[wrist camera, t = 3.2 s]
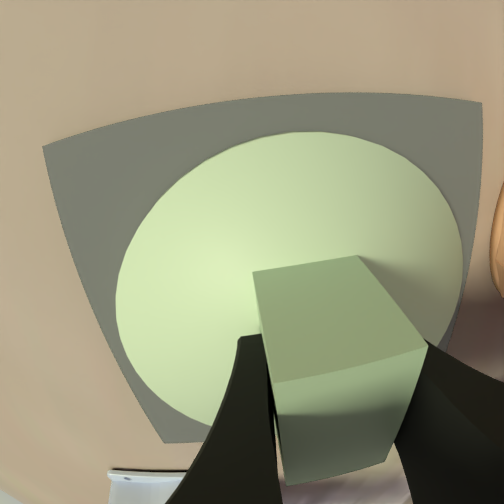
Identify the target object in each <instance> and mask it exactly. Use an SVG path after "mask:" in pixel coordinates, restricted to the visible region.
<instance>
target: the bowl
mask: <svg viewBox="0 0 504 504" xmlns="http://www.w3.org/2000/svg"><path fill="white" fill-rule="evenodd" d="M490 269H491V275H492V279H493V282H494V284H495V287H496V288H497V290H498V291H499V292H500V293H501V296H502V297H503V298H504V183H503V186H502V189H501V192H500V196H499V199H498V203H497V207H496V211H495V215H494V220H493V225H492V232H491V240H490Z"/></svg>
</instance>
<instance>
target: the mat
mask: <svg viewBox="0 0 504 504" xmlns="http://www.w3.org/2000/svg"><path fill="white" fill-rule="evenodd" d="M289 131H323V132H330V133H337V134H344V135H349V136H353V137H357V138H360V139H363V140H366V141H369V142H372V143H375V144H378V145H381V146H384V147H386V148H387V149H389V150H391V151H393V152H395V153H397V154H399V155H401V156H403V157H404V158H406V159H407V160H408V161H410V162H411V163H412V164H414V165H415V166H416V167H418V168H419V169H420V170H421V171H423V172H424V173H425V174H426V176H427V177H428V178H429V179H430V180H431V181H432V182H433V183H434V184H435V185H436V187H437V188H438V189H439V191H440V192H441V194H442V195H443V197H444V198H445V200H446V201H447V203H448V205H449V207H450V209H451V211H452V214H453V216H454V218H455V221H456V223H457V227H458V231H459V235H460V239H461V244H462V254H463V274H462V283H461V289H460V294H459V298H458V302H457V305H456V308H455V311H454V314H453V317H452V319H451V321H450V323H449V326H448V328H447V330H446V332H445V334H444V335H443V337H442V339H441V341H440V342H439V344H438V346H437V347H438V348H439V349H441V350H442V351H444V352H445V353H446V350H447V347H448V344H449V341H450V338H451V335H452V332H453V328H454V325H455V321H456V318H457V314H458V311H459V307H460V303H461V299H462V295H463V291H464V287H465V283H466V278H467V274H468V269H469V264H470V259H471V254H472V248H473V243H474V236H475V230H476V223H477V215H478V207H479V197H480V186H481V172H482V149H483V118H482V103H480V102H474V101H467V100H460V99H452V98H443V97H434V96H423V95H410V94H392V93H311V94H293V95H280V96H268V97H258V98H248V99H240V100H232V101H225V102H218V103H211V104H205V105H199V106H193V107H187V108H182V109H177V110H171V111H166V112H162V113H157V114H152V115H148V116H144V117H139V118H135V119H131V120H127V121H123V122H119V123H115V124H112V125H108V126H104V127H101V128H97V129H94V130H90V131H87V132H84V133H81V134H77V135H74V136H71V137H68V138H65V139H62V140H59V141H56V142H53V143H50V144H48V145H45V146H42V147H43V152H44V157H45V162H46V166H47V171H48V175H49V179H50V184H51V188H52V192H53V195H54V199H55V203H56V206H57V210H58V214H59V217H60V220H61V224H62V227H63V230H64V233H65V237H66V240H67V243H68V246H69V249H70V252H71V255H72V258H73V260H74V263H75V266H76V269H77V271H78V274H79V277H80V279H81V282H82V285H83V287H84V290H85V292H86V295H87V297H88V300H89V302H90V305H91V307H92V309H93V312H94V314H95V316H96V319H97V321H98V323H99V325H100V328H101V330H102V332H103V334H104V336H105V338H106V341H107V343H108V345H109V347H110V349H111V351H112V353H113V355H114V357H115V359H116V361H117V363H118V365H119V367H120V369H121V371H122V373H123V375H124V377H125V378H126V380H127V382H128V384H129V386H130V388H131V389H132V391H133V393H134V395H135V397H136V398H137V400H138V402H139V404H140V405H141V407H142V409H143V410H144V412H145V414H146V415H147V417H148V419H149V420H150V422H151V424H152V425H153V427H154V428H155V430H156V432H157V433H158V435H159V436H160V438H161V439H162V441H163V442H164V443H193V442H204V441H205V439H206V437H207V435H208V433H209V431H210V429H211V427H212V426H209V425H206V424H204V423H201V422H199V421H197V420H194V419H192V418H190V417H188V416H186V415H184V414H183V413H181V412H179V411H177V410H176V409H174V408H173V407H171V406H170V405H168V404H167V403H166V402H164V401H163V400H162V399H160V398H159V397H158V396H157V395H156V394H155V393H154V392H153V391H152V390H151V389H150V388H149V387H148V386H147V385H146V384H145V382H144V381H143V380H142V379H141V377H140V376H139V375H138V374H137V372H136V371H135V369H134V367H133V366H132V364H131V362H130V360H129V358H128V357H127V355H126V352H125V349H124V347H123V344H122V342H121V339H120V335H119V330H118V325H117V320H116V290H117V283H118V276H119V272H120V269H121V266H122V262H123V259H124V256H125V253H126V251H127V249H128V247H129V245H130V243H131V241H132V239H133V237H134V235H135V233H136V231H137V229H138V227H139V226H140V224H141V223H142V221H143V220H144V218H145V217H146V215H147V214H148V213H149V211H150V210H151V209H152V207H153V206H154V205H155V203H156V202H157V201H158V199H159V198H160V197H161V196H162V195H163V194H164V193H165V192H166V191H167V190H168V189H169V188H170V187H171V186H172V185H173V184H174V183H175V182H176V181H177V180H178V179H179V178H180V177H181V176H183V175H184V174H186V173H187V172H188V171H190V170H191V169H192V168H194V167H195V166H197V165H198V164H199V163H201V162H202V161H204V160H205V159H207V158H209V157H211V156H213V155H215V154H217V153H219V152H221V151H223V150H225V149H227V148H229V147H231V146H233V145H236V144H239V143H242V142H245V141H248V140H251V139H254V138H257V137H260V136H266V135H271V134H277V133H283V132H289Z"/></svg>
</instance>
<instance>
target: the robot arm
mask: <svg viewBox="0 0 504 504" xmlns="http://www.w3.org/2000/svg"><path fill="white" fill-rule="evenodd" d="M422 338H423V337H422ZM423 339H424V338H423ZM424 340H425V339H424ZM425 342H426V343H427V344H428V349H427V352H426V356H425V359H424V362H423V366H422V369H421V372H420V375H419V378H418V381H417V384H416V387H415V390H414V392H413V395H412V398H411V401H410V403H409V406H408V409H407V411H406V414H405V416H404V419H403V421H402V424H401V426H400V428H399V431H398V433H397V436H396V438H395V440H394V444H395V446H396V449H397V451H398V453H399V456H400V459H401V462H402V465H403V469H404V472H405V475H406V478H407V482H408V485H409V489H410V493H411V497H412V501H413V504H504V383H503V382H500V381H498V380H496V379H493V378H491V377H489V376H487V375H485V374H483V373H481V372H479V371H477V370H475V369H473V368H471V367H469V366H467V365H466V364H464V363H462V362H460V361H459V360H457V359H455V358H454V357H452V356H450V355H449V354H447V353H445V352H444V351H442V350H441V349H439V348H438V347H436V346H434V345H433V344H431V343H430V342H428V341H427V340H425ZM107 476H108V477H109V478H110V479H111V480H112V483H111V489H110V495H109V502H108V504H283V503H282V497H281V491H280V485H279V479H278V470H277V454H276V439H275V424H274V411H273V404H272V396H271V389H270V381H269V374H268V367H267V359H266V353H265V348H264V343H263V338H262V333H261V334H254V335H247V336H241V337H240V338H239V339H238V340H237V350H236V356H235V360H234V365H233V368H232V372H231V376H230V379H229V382H228V385H227V388H226V392H225V395H224V397H223V400H222V403H221V405H220V408H219V410H218V412H217V415H216V417H215V420H214V422H213V425H212V427H211V429H210V431H209V433H208V435H207V437H206V439H205V441H204V443H203V445H202V447H201V449H200V451H199V453H198V454H197V456H196V458H195V460H194V461H193V463H192V465H191V466H190V468H189V470H188V471H187V472H173V473H169V472H134V471H120V470H108V472H107Z"/></svg>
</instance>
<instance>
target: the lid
mask: <svg viewBox="0 0 504 504" xmlns="http://www.w3.org/2000/svg"><path fill="white" fill-rule="evenodd" d="M462 274H463V254H462V244H461V239H460V235H459V231H458V227H457V223H456V221H455V218H454V216H453V214H452V211H451V209H450V207H449V205H448V203H447V201H446V200H445V198H444V197H443V195H442V194H441V192H440V191H439V189H438V188H437V187H436V185H435V184H434V183H433V182H432V181H431V180H430V179H429V178H428V177H427V176H426V174H425V173H424V172H423V171H421V170H420V169H419V168H418V167H416V166H415V165H414V164H412V163H411V162H410V161H408V160H407V159H406V158H404V157H403V156H401V155H399V154H397V153H395V152H393V151H391V150H389V149H387V148H386V147H384V146H381V145H378V144H375V143H372V142H369V141H366V140H363V139H360V138H357V137H353V136H349V135H344V134H337V133H330V132H323V131H289V132H283V133H277V134H271V135H266V136H260V137H257V138H254V139H251V140H248V141H245V142H242V143H239V144H236V145H233V146H231V147H229V148H227V149H225V150H223V151H221V152H219V153H217V154H215V155H213V156H211V157H209V158H207V159H205V160H204V161H202V162H201V163H199V164H198V165H197V166H195V167H194V168H192V169H191V170H190V171H188V172H187V173H186V174H184V175H183V176H181V177H180V178H179V179H178V180H177V181H176V182H175V183H174V184H173V185H172V186H171V187H170V188H169V189H168V190H167V191H166V192H165V193H164V194H163V195H162V196H161V197H160V198H159V199H158V201H157V202H156V203H155V205H154V206H153V207H152V209H151V210H150V211H149V213H148V214H147V215H146V217H145V218H144V220H143V221H142V223H141V224H140V226H139V227H138V229H137V231H136V233H135V235H134V237H133V239H132V241H131V243H130V245H129V247H128V249H127V251H126V253H125V256H124V259H123V262H122V266H121V269H120V272H119V276H118V283H117V290H116V320H117V325H118V330H119V335H120V339H121V342H122V344H123V347H124V349H125V352H126V355H127V357H128V358H129V360H130V362H131V364H132V366H133V367H134V369H135V371H136V372H137V374H138V375H139V376H140V377H141V379H142V380H143V381H144V382H145V384H146V385H147V386H148V387H149V388H150V389H151V390H152V391H153V392H154V393H155V394H156V395H157V396H158V397H159V398H160V399H162V400H163V401H164V402H166V403H167V404H168V405H170V406H171V407H173V408H174V409H176V410H177V411H179V412H181V413H183V414H184V415H186V416H188V417H190V418H192V419H194V420H197V421H199V422H201V423H204V424H206V425H209V426H212V425H213V422H214V420H215V417H216V415H217V412H218V410H219V408H220V405H221V403H222V400H223V397H224V395H225V392H226V388H227V385H228V382H229V379H230V376H231V372H232V368H233V365H234V360H235V356H236V350H237V340H238V339H239V338H240V337H241V336H247V335H254V334H261V333H262V338H263V343H264V348H265V353H266V359H267V367H268V374H269V381H270V389H271V396H272V404H273V411H274V424H275V435H277V438H278V444H279V449H280V455H281V460H282V466H283V472H284V477H285V483H286V486H291V485H297V484H302V483H307V482H312V481H317V480H321V479H326V478H330V477H334V476H338V475H342V474H346V473H349V472H353V471H357V470H360V469H363V468H367V467H370V466H373V465H376V464H379V463H382V462H385V460H386V458H387V455H388V453H389V451H390V449H391V447H392V445H393V442H394V440H395V438H396V436H397V433H398V431H399V428H400V426H401V424H402V421H403V419H404V416H405V414H406V411H407V409H408V406H409V403H410V401H411V398H412V395H413V392H414V390H415V387H416V384H417V381H418V378H419V375H420V372H421V369H422V366H423V362H424V359H425V356H426V352H427V349H428V344H427V343H426V342H425V340H427V341H428V342H430V343H431V344H433V345H434V346H436V347H437V346H438V344H439V342H440V341H441V339H442V337H443V335H444V334H445V332H446V330H447V328H448V326H449V323H450V321H451V319H452V317H453V314H454V311H455V308H456V305H457V302H458V298H459V294H460V289H461V283H462ZM422 337H423V338H424V339H425V340H424V339H423V338H422Z"/></svg>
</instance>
